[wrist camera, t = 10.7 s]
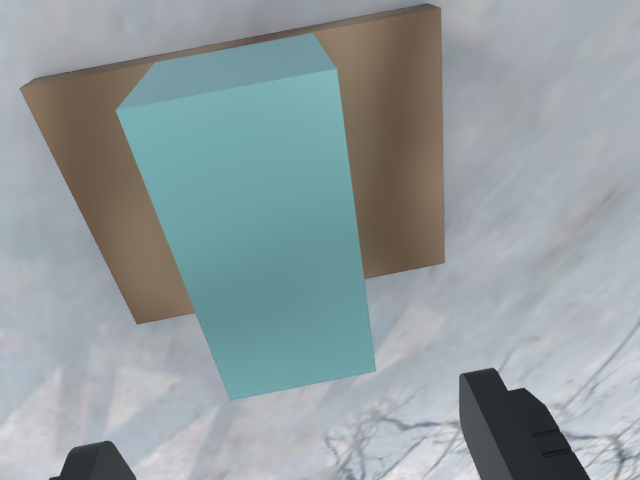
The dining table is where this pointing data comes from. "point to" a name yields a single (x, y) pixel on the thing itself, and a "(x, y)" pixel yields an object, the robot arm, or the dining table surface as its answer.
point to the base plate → (361, 137)
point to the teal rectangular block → (258, 208)
